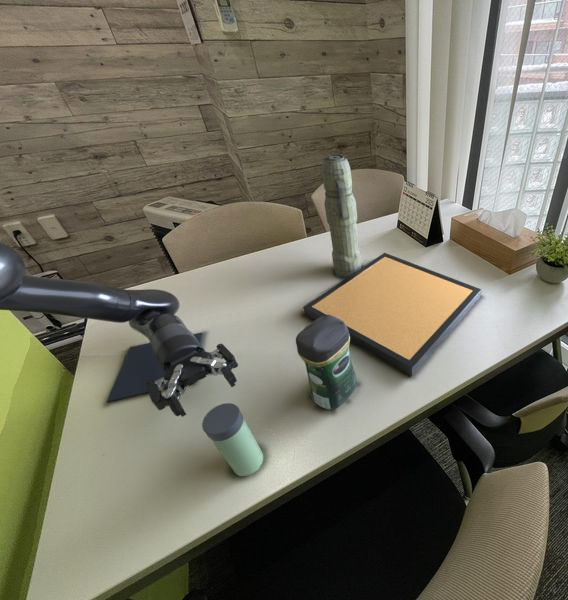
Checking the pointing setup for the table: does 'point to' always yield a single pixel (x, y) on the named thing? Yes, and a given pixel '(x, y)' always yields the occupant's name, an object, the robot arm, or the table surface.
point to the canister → (233, 438)
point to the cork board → (397, 309)
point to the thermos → (341, 215)
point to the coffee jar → (327, 361)
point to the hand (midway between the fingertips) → (208, 397)
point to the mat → (138, 372)
